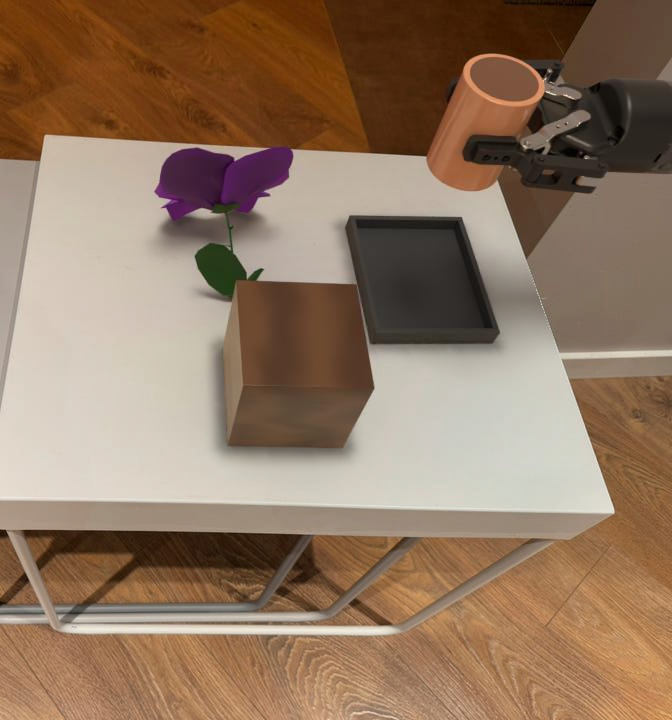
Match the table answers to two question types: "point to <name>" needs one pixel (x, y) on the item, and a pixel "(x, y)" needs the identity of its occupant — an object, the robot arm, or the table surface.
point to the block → (295, 364)
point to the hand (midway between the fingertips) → (457, 118)
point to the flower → (220, 199)
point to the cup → (483, 117)
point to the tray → (419, 281)
